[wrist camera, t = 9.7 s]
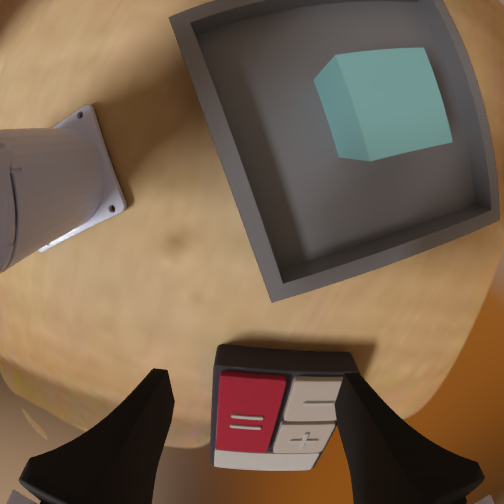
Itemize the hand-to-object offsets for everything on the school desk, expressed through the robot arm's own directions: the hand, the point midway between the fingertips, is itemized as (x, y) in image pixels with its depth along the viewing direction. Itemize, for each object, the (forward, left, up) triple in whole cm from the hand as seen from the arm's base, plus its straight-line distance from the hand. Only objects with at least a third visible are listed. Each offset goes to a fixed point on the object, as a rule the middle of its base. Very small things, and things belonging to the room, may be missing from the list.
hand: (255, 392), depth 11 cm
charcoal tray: (+10, +9, -9) cm, 16 cm away
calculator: (-2, -13, -10) cm, 16 cm away
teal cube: (+10, +9, -9) cm, 16 cm away
